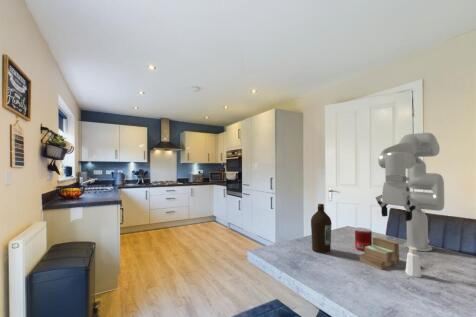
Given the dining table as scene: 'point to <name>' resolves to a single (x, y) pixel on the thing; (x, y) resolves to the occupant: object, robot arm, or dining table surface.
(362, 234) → the canned food
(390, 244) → the stand
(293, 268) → the dining table surface
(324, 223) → the olive oil
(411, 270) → the pepper shaker
